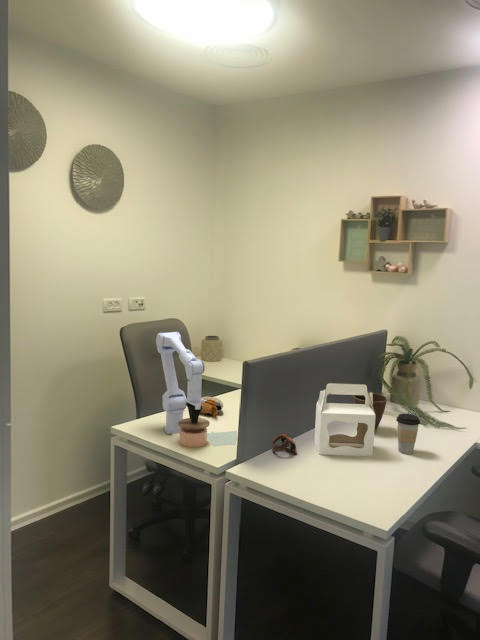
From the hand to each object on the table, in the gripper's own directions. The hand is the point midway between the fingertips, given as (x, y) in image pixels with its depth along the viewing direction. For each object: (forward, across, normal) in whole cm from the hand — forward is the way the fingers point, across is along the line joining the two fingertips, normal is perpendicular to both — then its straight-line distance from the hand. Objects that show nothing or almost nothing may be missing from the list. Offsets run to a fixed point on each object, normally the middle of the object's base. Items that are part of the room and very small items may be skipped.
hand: (193, 421), depth 210 cm
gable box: (+10, -20, -59) cm, 63 cm away
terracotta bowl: (+9, 0, 0) cm, 9 cm away
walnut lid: (+1, 0, 0) cm, 1 cm away
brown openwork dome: (+10, -17, -34) cm, 39 cm away
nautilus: (+10, +35, -15) cm, 39 cm away
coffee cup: (+10, -28, -84) cm, 89 cm away
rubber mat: (+9, +1, -14) cm, 17 cm away
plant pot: (+10, -2, -82) cm, 83 cm away
